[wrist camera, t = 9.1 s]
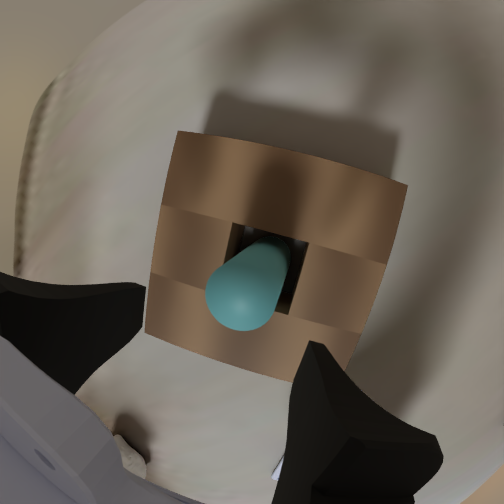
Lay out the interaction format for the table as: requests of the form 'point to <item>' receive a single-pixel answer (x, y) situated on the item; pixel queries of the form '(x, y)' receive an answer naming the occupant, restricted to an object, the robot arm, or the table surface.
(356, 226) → the hole block
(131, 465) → the bust
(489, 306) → the table surface
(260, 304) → the peg
